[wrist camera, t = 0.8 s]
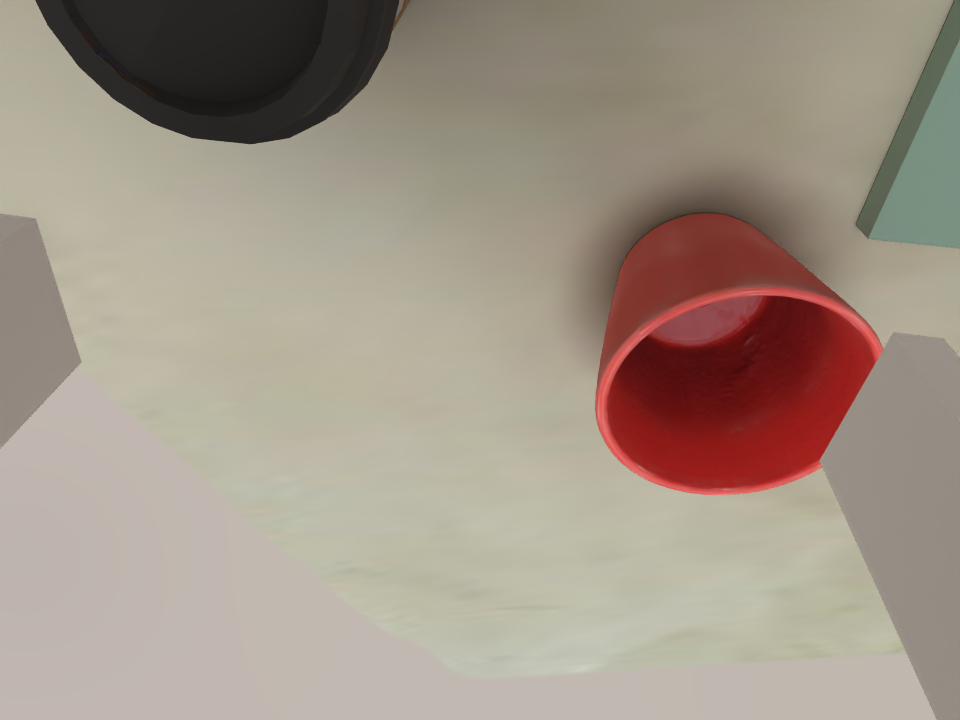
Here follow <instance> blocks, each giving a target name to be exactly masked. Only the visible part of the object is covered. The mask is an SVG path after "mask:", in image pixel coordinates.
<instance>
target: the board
mask: <svg viewBox="0 0 960 720" xmlns="http://www.w3.org/2000/svg"><path fill="white" fill-rule="evenodd" d="M856 226H857V227H858V228H859V229H860V230H861V231H862V232H863V234H864V235H865V236H866V237H867V238H868V239H875V240H884V241H894V242H903V243H913V244H922V245H932V246H941V247H951V248H960V0H955V1H954V3H953V5H952V8H951V10H950V12H949V15H948V17H947V19H946V21H945V24H944V26H943V28H942V30H941V33H940V35H939V37H938V39H937V42H936V44H935V46H934V49H933V51H932V53H931V55H930V58H929V60H928V62H927V64H926V67H925V69H924V71H923V73H922V76H921V78H920V80H919V83H918V85H917V87H916V89H915V92H914V94H913V96H912V98H911V101H910V103H909V105H908V107H907V110H906V112H905V114H904V117H903V119H902V121H901V123H900V126H899V128H898V130H897V132H896V135H895V137H894V139H893V141H892V144H891V146H890V148H889V151H888V153H887V155H886V157H885V160H884V162H883V164H882V166H881V169H880V171H879V173H878V175H877V178H876V180H875V182H874V184H873V187H872V189H871V191H870V194H869V196H868V198H867V200H866V203H865V205H864V207H863V209H862V212H861V214H860V216H859V218H858V221H857V223H856Z"/></svg>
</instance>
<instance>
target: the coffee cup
mask: <svg viewBox="0 0 960 720" xmlns="http://www.w3.org/2000/svg"><path fill="white" fill-rule="evenodd" d="M35 1H36V3H37V5H38V7H39V9H40V11H41V13H42V15H43V17H44V19H45V21H46V23H47V25H48V26H49V27H50V29H51V30H52V31H53V33H54V34H55V35H56V37H57V38H58V39H59V41H60V42H61V43H62V45H63V46H64V47H65V49H66V50H67V51H68V53H69V54H70V56H71V57H72V58H73V60H74V61H75V62H76V64H77V65H78V66H79V67H80V68H81V69H82V70H83V71H84V72H85V73H86V74H87V75H88V76H90V77H91V78H92V79H93V80H94V81H95V82H96V83H97V84H98V85H99V86H100V87H101V88H102V89H103V90H105V91H106V92H107V93H108V94H109V95H110V96H111V97H112V98H113V99H114V100H116V101H117V102H119V103H121V104H122V105H124V106H125V107H127V108H129V109H130V110H132V111H133V112H135V113H137V114H138V115H140V116H141V117H143V118H145V119H146V120H148V121H149V122H151V123H152V124H155V125H158V126H161V127H163V128H166V129H169V130H172V131H174V132H177V133H180V134H183V135H185V136H188V137H191V138H197V139H206V140H215V141H224V142H235V143H244V144H256V143H262V142H268V141H274V140H280V139H286V138H290V137H292V136H294V135H296V134H298V133H300V132H302V131H304V130H306V129H308V128H310V127H312V126H314V125H316V124H318V123H320V122H322V121H324V120H326V119H327V118H328V117H330V116H332V115H334V114H336V113H338V112H339V111H340V110H341V109H342V108H343V107H344V106H346V105H347V104H348V103H349V102H350V101H351V100H352V99H353V98H354V97H355V96H356V95H357V94H358V93H359V92H360V91H361V90H362V89H363V88H364V87H365V86H366V85H367V84H368V82H369V80H370V78H371V77H372V75H373V73H374V71H375V70H376V68H377V66H378V64H379V62H380V61H381V59H382V57H383V55H384V54H385V52H386V50H387V48H388V45H389V41H390V37H391V33H392V31H393V29H394V27H395V26H396V24H397V22H398V20H399V18H400V17H401V15H402V13H403V11H404V10H405V8H406V6H407V4H408V3H409V1H410V0H35Z"/></svg>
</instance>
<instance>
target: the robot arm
mask: <svg viewBox="0 0 960 720" xmlns="http://www.w3.org/2000/svg"><path fill="white" fill-rule="evenodd" d="M80 363H81V359H80V356H79V353H78V350H77V347H76V344H75V341H74V337H73V334H72V331H71V328H70V325H69V322H68V319H67V315H66V312H65V309H64V306H63V303H62V300H61V297H60V293H59V290H58V287H57V284H56V281H55V278H54V275H53V272H52V268H51V265H50V262H49V259H48V256H47V253H46V250H45V246H44V243H43V240H42V237H41V234H40V231H39V228H38V224H37V221H36V218H28V217H20V216H13V215H5V214H0V448H1V447H2V446H3V445H4V444H5V443H6V442H7V441H8V440H9V439H10V438H11V437H12V436H13V435H14V433H15V432H16V431H17V430H18V429H19V428H20V427H21V426H22V425H23V424H24V423H25V422H26V421H27V419H29V417H30V416H31V415H32V414H33V413H34V412H35V411H36V410H37V409H38V408H39V407H40V406H41V405H42V404H43V402H44V401H45V400H46V399H47V398H48V397H49V396H50V395H51V394H52V393H53V392H54V391H55V390H56V389H57V388H58V386H59V385H60V384H61V383H62V382H63V381H64V380H65V379H66V378H67V377H68V376H69V375H70V374H71V372H73V371H74V370H75V368H76V367H77V366H78V365H79V364H80ZM820 463H821V465H822V467H823V469H824V472H825V474H826V476H827V478H828V480H829V483H830V485H831V487H832V489H833V491H834V494H835V496H836V498H837V500H838V502H839V505H840V507H841V509H842V511H843V514H844V516H845V518H846V520H847V522H848V525H849V527H850V529H851V531H852V533H853V536H854V538H855V540H856V542H857V544H858V547H859V549H860V551H861V553H862V556H863V558H864V560H865V562H866V564H867V567H868V569H869V571H870V573H871V575H872V578H873V580H874V582H875V584H876V586H877V589H878V591H879V593H880V595H881V597H882V600H883V602H884V604H885V606H886V609H887V611H888V613H889V615H890V617H891V620H892V622H893V624H894V626H895V628H896V631H897V633H898V635H899V637H900V639H901V642H902V644H903V646H904V648H905V651H906V653H907V655H908V657H909V659H910V661H911V664H912V666H913V668H914V670H915V672H916V675H917V677H918V679H919V681H920V684H921V686H922V688H923V690H924V692H925V695H926V696H927V699H928V701H929V704H930V706H931V708H932V710H933V712H934V715H935V717H936V719H937V720H960V358H959V356H958V355H957V354H956V353H955V352H954V350H953V349H952V348H951V347H950V346H949V344H948V343H947V342H946V341H945V339H942V338H935V337H927V336H920V335H912V334H905V333H897V332H893V334H892V335H891V337H890V339H889V341H888V342H887V344H886V346H885V348H884V349H883V351H882V353H881V355H880V356H879V358H878V360H877V362H876V363H875V365H874V367H873V368H872V370H871V372H870V374H869V375H868V377H867V379H866V381H865V382H864V384H863V386H862V388H861V389H860V391H859V393H858V395H857V396H856V398H855V400H854V402H853V403H852V405H851V407H850V408H849V410H848V412H847V414H846V415H845V417H844V419H843V421H842V422H841V424H840V426H839V428H838V429H837V431H836V433H835V435H834V436H833V438H832V440H831V442H830V443H829V445H828V447H827V448H826V450H825V452H824V454H823V455H822V457H821V459H820Z"/></svg>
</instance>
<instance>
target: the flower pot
mask: <svg viewBox="0 0 960 720" xmlns="http://www.w3.org/2000/svg"><path fill="white" fill-rule="evenodd" d="M882 351H883V347H882V345H881V342H880V340H879V338H878V337H877V335H876V333H875V332H874V330H873V329H872V328H871V326H870V325H869V324H868V322H867V321H866V320H865V319H864V318H863V317H862V316H861V315H859V314H858V313H857V312H856V311H855V310H854V309H853V308H852V307H851V306H850V305H849V304H847V303H846V302H845V301H844V300H843V299H842V298H840V297H839V296H838V295H837V294H836V293H835V292H833V291H832V290H831V289H830V288H829V287H827V286H826V285H825V284H824V283H823V282H822V281H820V280H819V279H818V278H817V277H816V276H814V275H813V274H812V273H811V272H810V271H809V270H807V269H806V268H805V267H804V266H803V265H802V264H800V263H799V262H798V261H797V260H796V259H794V258H793V257H792V256H791V255H790V254H788V253H787V252H786V251H785V250H784V249H782V248H781V247H780V246H779V245H777V244H776V243H775V242H773V241H772V240H771V239H769V238H768V237H767V236H765V235H764V234H762V233H761V232H760V231H758V230H757V229H755V228H754V227H752V226H751V225H750V224H748V223H746V222H744V221H742V220H739V219H737V218H734V217H731V216H728V215H724V214H715V213H700V214H692V215H686V216H682V217H679V218H676V219H673V220H671V221H668V222H666V223H664V224H662V225H660V226H658V227H656V228H655V229H653V230H651V231H650V232H649V233H647V234H646V235H645V236H644V237H642V238H641V239H640V240H639V241H638V242H637V243H636V244H635V245H634V247H633V248H632V249H631V251H630V252H629V254H628V255H627V257H626V259H625V261H624V262H623V264H622V267H621V269H620V272H619V276H618V281H617V285H616V288H615V292H614V296H613V300H612V304H611V308H610V313H609V317H608V322H607V327H606V333H605V338H604V344H603V349H602V355H601V361H600V367H599V373H598V380H597V389H596V402H595V412H596V419H597V424H598V427H599V430H600V433H601V435H602V437H603V439H604V441H605V443H606V445H607V446H608V448H609V449H610V451H611V452H612V453H613V454H614V456H615V457H616V458H617V459H618V460H619V461H620V462H621V463H622V464H623V465H625V466H626V467H627V468H629V469H630V470H631V471H633V472H634V473H636V474H637V475H639V476H641V477H642V478H644V479H646V480H648V481H651V482H653V483H655V484H658V485H661V486H664V487H667V488H670V489H674V490H678V491H683V492H688V493H695V494H704V495H730V494H742V493H751V492H757V491H762V490H766V489H770V488H774V487H777V486H780V485H784V484H787V483H790V482H792V481H795V480H797V479H799V478H802V477H804V476H806V475H808V474H810V473H812V472H814V471H816V470H818V469H820V468H821V467H822V465H821V463H820V459H821V457H822V455H823V454H824V452H825V450H826V448H827V447H828V445H829V443H830V442H831V440H832V438H833V436H834V435H835V433H836V431H837V429H838V428H839V426H840V424H841V422H842V421H843V419H844V417H845V415H846V414H847V412H848V410H849V408H850V407H851V405H852V403H853V402H854V400H855V398H856V396H857V395H858V393H859V391H860V389H861V388H862V386H863V384H864V382H865V381H866V379H867V377H868V375H869V374H870V372H871V370H872V368H873V367H874V365H875V363H876V362H877V360H878V358H879V356H880V355H881V353H882Z"/></svg>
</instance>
